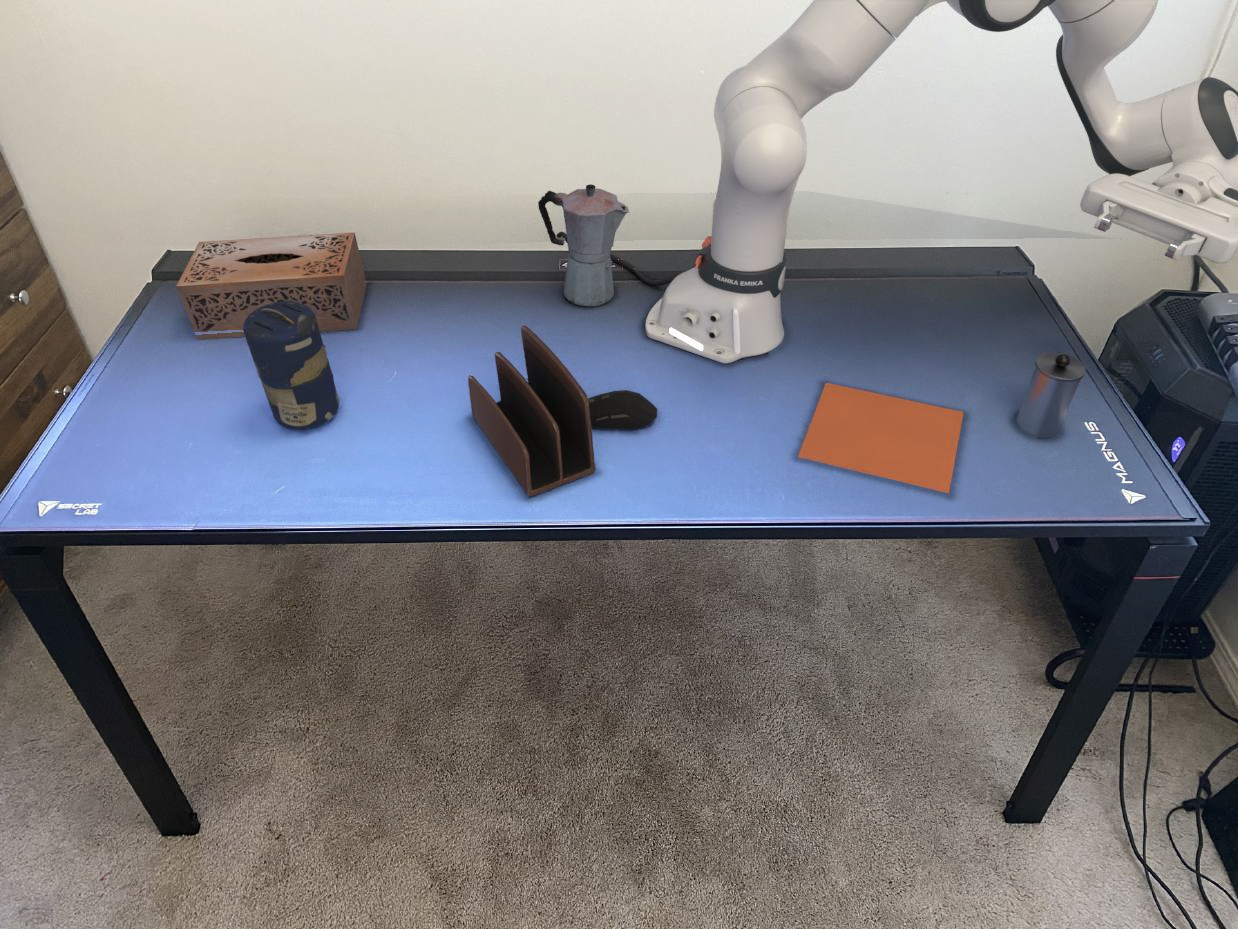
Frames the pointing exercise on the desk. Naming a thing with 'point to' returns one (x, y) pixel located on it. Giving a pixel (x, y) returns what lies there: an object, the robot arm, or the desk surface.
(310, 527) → the desk surface
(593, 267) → the moka pot
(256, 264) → the tissue box cover
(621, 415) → the gaming mouse
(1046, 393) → the pot
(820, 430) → the napkin
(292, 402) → the canister
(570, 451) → the letter holder
